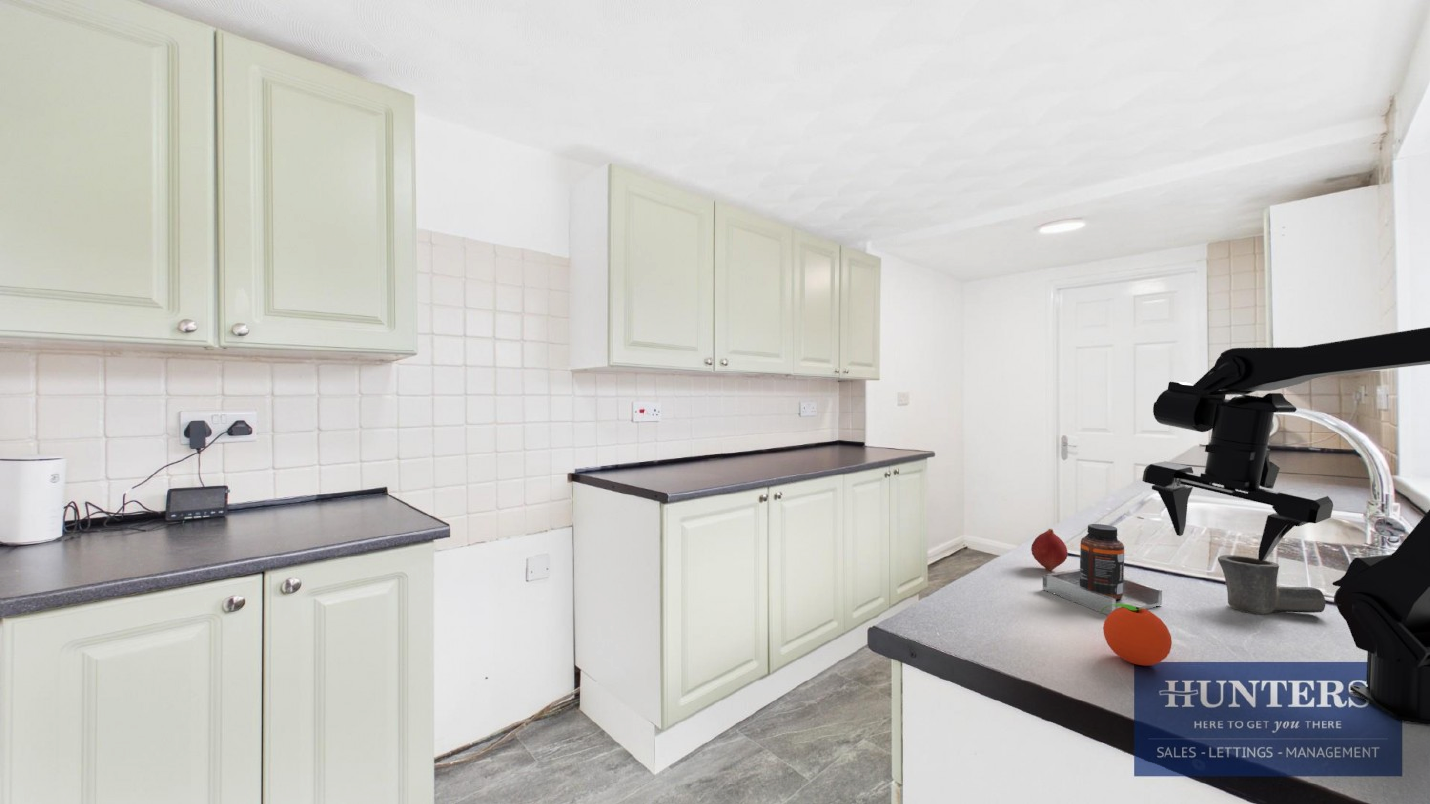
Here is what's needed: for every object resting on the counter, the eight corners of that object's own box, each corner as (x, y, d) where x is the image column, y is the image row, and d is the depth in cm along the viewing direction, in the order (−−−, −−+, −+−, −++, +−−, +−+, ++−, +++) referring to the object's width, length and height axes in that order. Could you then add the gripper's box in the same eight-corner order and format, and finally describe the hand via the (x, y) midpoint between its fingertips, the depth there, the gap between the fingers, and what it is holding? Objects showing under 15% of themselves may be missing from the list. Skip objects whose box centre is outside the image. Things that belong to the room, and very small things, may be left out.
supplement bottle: (1132, 601, 88) (1134, 531, 88) (1095, 601, 88) (1097, 531, 88) (1106, 587, 94) (1108, 522, 94) (1071, 587, 94) (1072, 521, 94)
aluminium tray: (1161, 606, 88) (1162, 590, 88) (1111, 616, 84) (1112, 599, 84) (1089, 581, 99) (1090, 567, 99) (1042, 589, 95) (1042, 574, 95)
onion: (1024, 567, 106) (1025, 526, 106) (1043, 563, 109) (1044, 523, 109) (1053, 577, 101) (1054, 533, 101) (1073, 572, 104) (1074, 530, 103)
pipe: (1333, 623, 82) (1335, 570, 82) (1231, 615, 85) (1232, 563, 85) (1300, 607, 88) (1302, 557, 88) (1206, 600, 91) (1207, 552, 90)
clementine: (1081, 651, 73) (1083, 598, 73) (1114, 642, 76) (1116, 590, 75) (1150, 681, 66) (1151, 622, 65) (1183, 669, 68) (1185, 612, 68)
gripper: (1360, 450, 71) (1334, 564, 74) (1185, 423, 88) (1169, 516, 90) (1327, 458, 66) (1301, 580, 69) (1148, 427, 83) (1132, 527, 85)
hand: (1218, 547), depth 78 cm, fingers open, 9 cm apart
